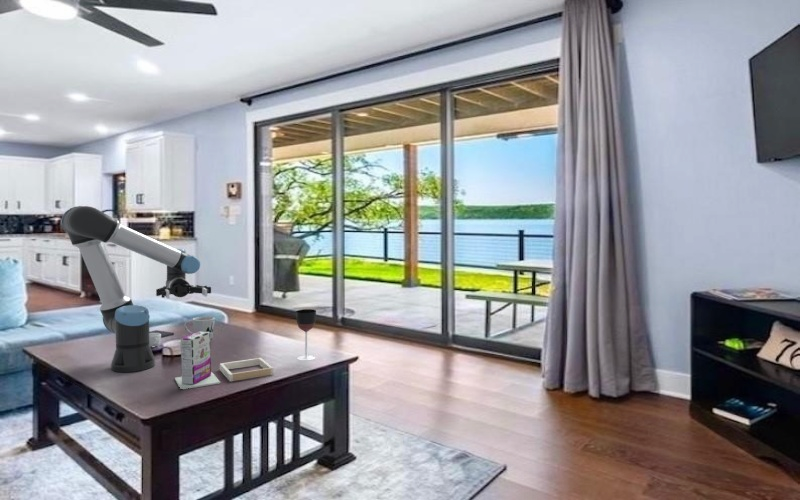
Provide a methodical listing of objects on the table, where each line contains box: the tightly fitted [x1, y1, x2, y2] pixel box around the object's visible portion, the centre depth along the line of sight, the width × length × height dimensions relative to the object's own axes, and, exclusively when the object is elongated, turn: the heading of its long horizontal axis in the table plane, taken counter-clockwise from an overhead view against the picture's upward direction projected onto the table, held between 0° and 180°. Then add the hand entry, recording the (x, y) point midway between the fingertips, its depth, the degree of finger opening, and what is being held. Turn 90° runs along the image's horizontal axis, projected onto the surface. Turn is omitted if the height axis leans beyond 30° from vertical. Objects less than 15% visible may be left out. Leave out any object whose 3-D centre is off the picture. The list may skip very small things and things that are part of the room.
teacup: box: [149, 333, 162, 348], centre depth 227 cm, size 10×8×5 cm
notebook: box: [149, 329, 175, 339], centre depth 243 cm, size 13×2×21 cm
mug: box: [183, 315, 216, 340], centre depth 243 cm, size 10×15×10 cm
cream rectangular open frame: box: [219, 357, 275, 382], centre depth 191 cm, size 16×16×2 cm
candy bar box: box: [180, 331, 212, 385], centre depth 179 cm, size 11×5×16 cm, turn 169°
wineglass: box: [295, 308, 317, 361], centre depth 210 cm, size 8×9×20 cm
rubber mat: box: [174, 371, 221, 390], centre depth 179 cm, size 13×13×1 cm
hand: (187, 293), depth 192 cm, fingers open, 13 cm apart
